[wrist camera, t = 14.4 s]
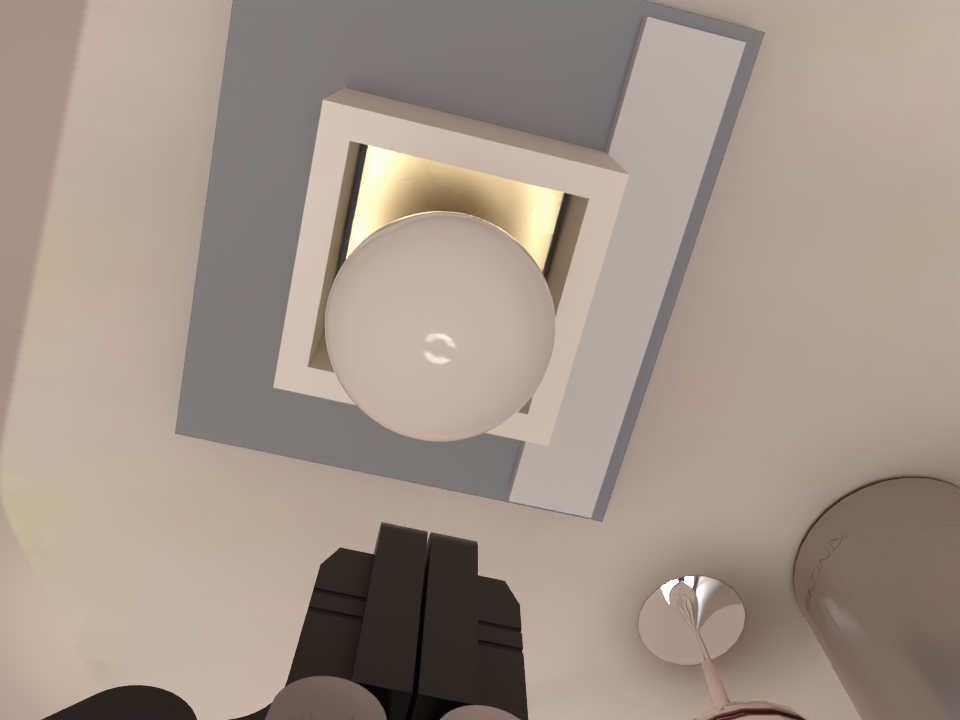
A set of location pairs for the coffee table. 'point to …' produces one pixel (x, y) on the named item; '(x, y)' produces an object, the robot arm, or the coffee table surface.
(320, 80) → the socket board
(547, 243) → the socket plunger
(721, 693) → the wineglass
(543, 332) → the lightbulb
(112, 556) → the coffee table surface
